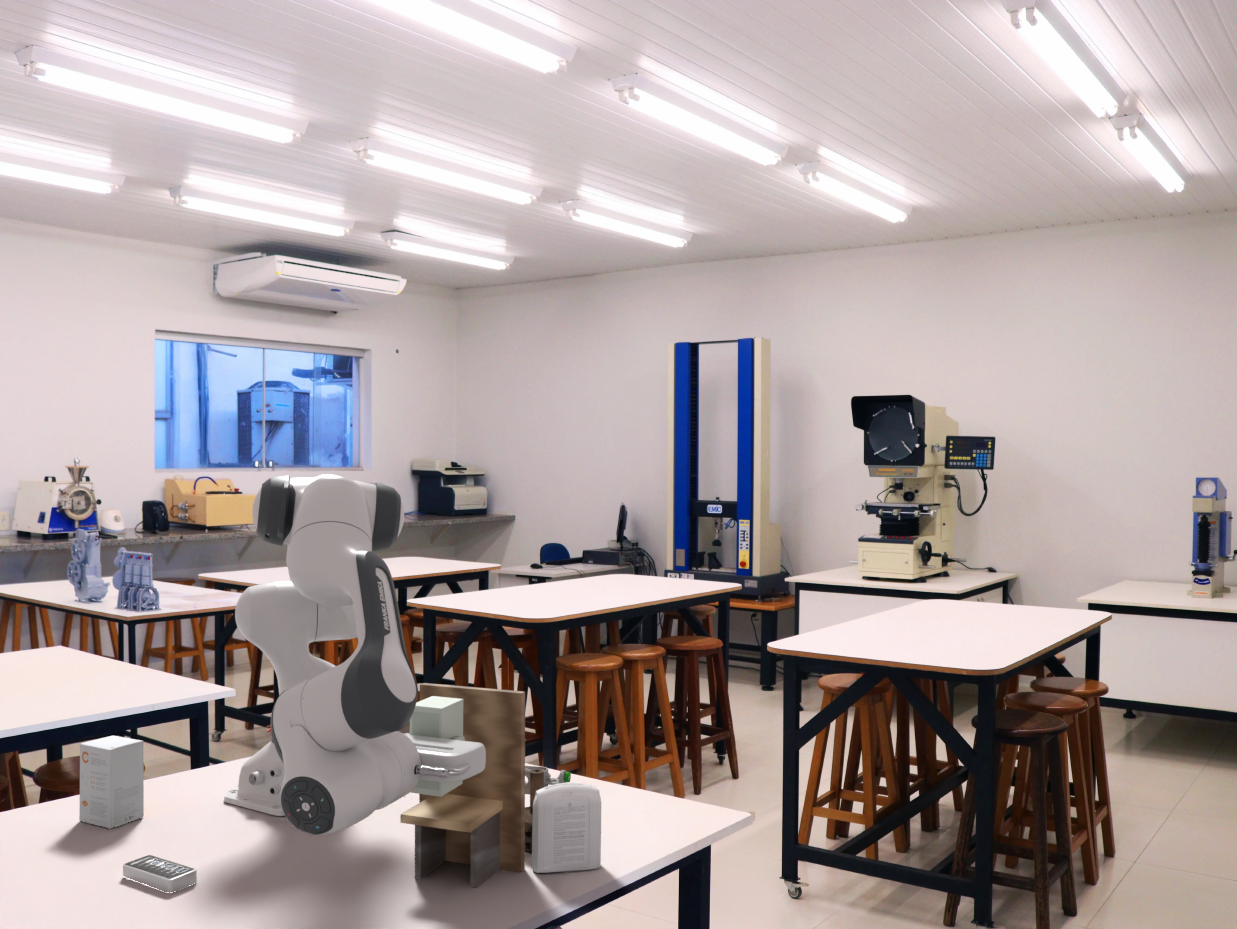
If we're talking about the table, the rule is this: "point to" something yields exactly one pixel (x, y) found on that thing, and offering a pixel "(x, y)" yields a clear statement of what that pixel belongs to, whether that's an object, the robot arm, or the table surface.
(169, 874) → the multiport hub
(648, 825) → the table surface
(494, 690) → the wooden toy chair
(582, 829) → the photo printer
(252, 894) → the table surface
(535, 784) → the industrial component
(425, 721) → the sage cabinet
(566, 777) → the mechanical component
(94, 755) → the small box
